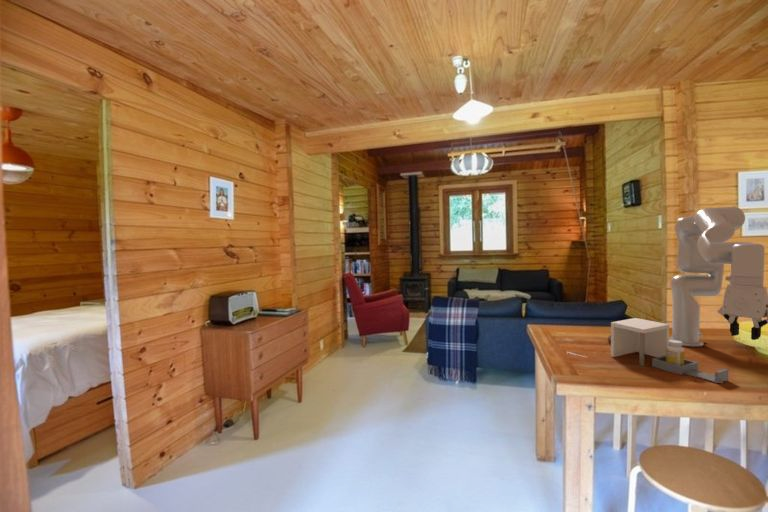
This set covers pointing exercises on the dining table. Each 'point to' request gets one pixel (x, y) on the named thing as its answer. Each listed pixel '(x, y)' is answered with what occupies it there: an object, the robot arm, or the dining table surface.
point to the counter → (639, 338)
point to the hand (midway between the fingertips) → (744, 336)
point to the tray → (689, 369)
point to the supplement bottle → (675, 353)
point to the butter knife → (575, 354)
